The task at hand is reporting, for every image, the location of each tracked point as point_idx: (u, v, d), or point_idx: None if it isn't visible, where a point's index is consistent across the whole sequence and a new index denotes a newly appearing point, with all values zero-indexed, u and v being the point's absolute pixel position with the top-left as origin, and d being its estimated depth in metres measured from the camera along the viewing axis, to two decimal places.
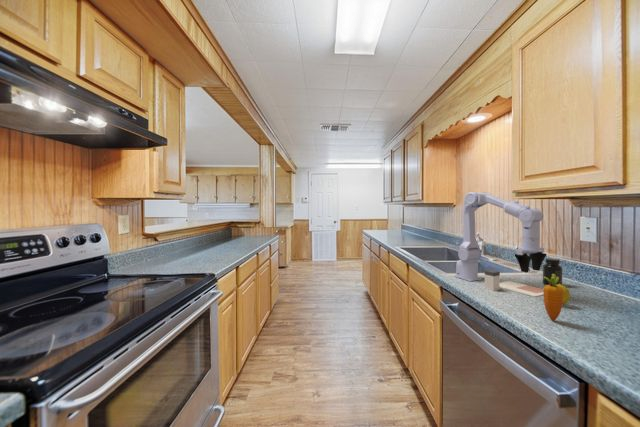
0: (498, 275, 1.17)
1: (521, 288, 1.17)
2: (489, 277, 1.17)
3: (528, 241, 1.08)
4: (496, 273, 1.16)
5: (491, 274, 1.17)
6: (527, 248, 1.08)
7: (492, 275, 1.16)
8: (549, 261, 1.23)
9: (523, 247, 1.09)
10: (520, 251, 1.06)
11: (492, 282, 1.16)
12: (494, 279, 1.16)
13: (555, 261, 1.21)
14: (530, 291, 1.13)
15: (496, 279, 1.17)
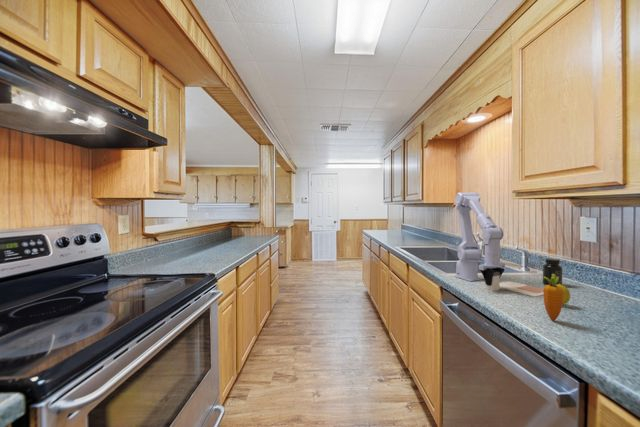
0: (498, 275, 1.17)
1: (521, 288, 1.17)
2: None
3: (489, 257, 1.17)
4: (496, 273, 1.16)
5: None
6: (488, 263, 1.17)
7: None
8: (549, 261, 1.23)
9: (485, 262, 1.18)
10: (481, 266, 1.15)
11: (492, 282, 1.16)
12: (494, 279, 1.16)
13: (555, 261, 1.21)
14: (530, 291, 1.13)
15: (496, 279, 1.17)
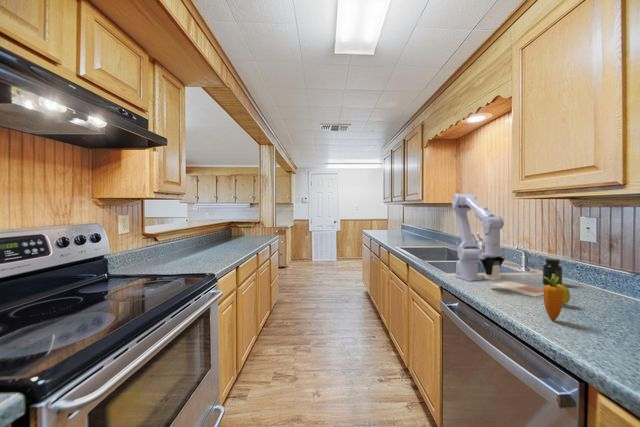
0: (498, 264, 1.17)
1: (521, 288, 1.17)
2: None
3: (489, 246, 1.17)
4: (496, 262, 1.16)
5: None
6: (488, 253, 1.17)
7: None
8: (549, 261, 1.23)
9: (485, 252, 1.18)
10: (481, 256, 1.15)
11: (492, 271, 1.16)
12: (494, 268, 1.16)
13: (555, 261, 1.21)
14: (530, 291, 1.13)
15: (496, 268, 1.16)
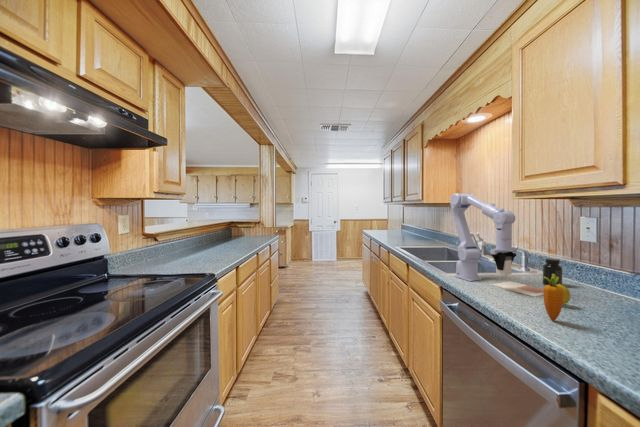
0: (510, 259, 1.16)
1: (521, 288, 1.17)
2: None
3: (501, 241, 1.16)
4: (508, 257, 1.16)
5: None
6: (500, 248, 1.16)
7: None
8: (549, 261, 1.23)
9: (497, 247, 1.18)
10: (493, 251, 1.14)
11: (504, 266, 1.15)
12: (506, 263, 1.15)
13: (555, 261, 1.21)
14: (530, 291, 1.13)
15: (508, 264, 1.16)
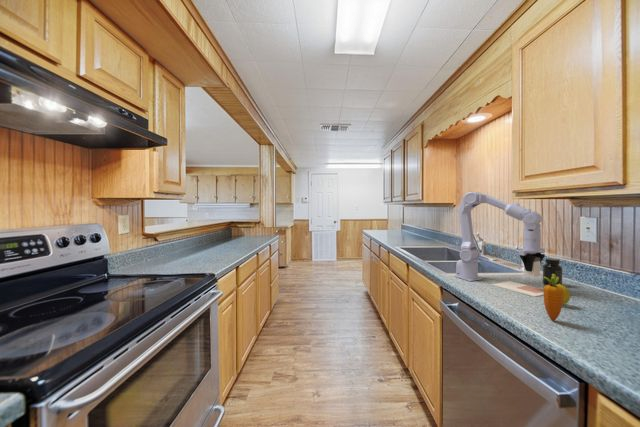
0: (539, 261, 1.15)
1: (521, 288, 1.17)
2: None
3: (529, 242, 1.14)
4: (537, 258, 1.14)
5: None
6: (529, 249, 1.14)
7: None
8: (549, 261, 1.23)
9: (525, 248, 1.16)
10: (522, 252, 1.13)
11: (533, 268, 1.14)
12: (535, 264, 1.14)
13: (555, 261, 1.21)
14: (530, 291, 1.13)
15: (537, 265, 1.14)
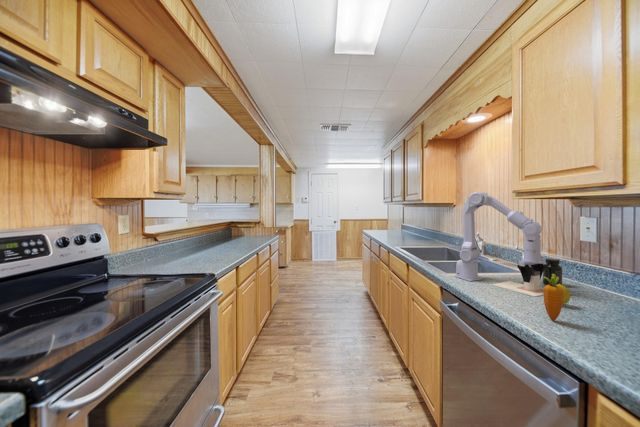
0: (538, 275, 1.15)
1: (521, 288, 1.17)
2: None
3: (529, 253, 1.14)
4: (537, 273, 1.14)
5: (531, 273, 1.14)
6: (529, 260, 1.15)
7: (533, 275, 1.14)
8: (549, 261, 1.23)
9: (525, 258, 1.16)
10: (522, 263, 1.13)
11: (533, 282, 1.14)
12: (534, 279, 1.14)
13: (555, 261, 1.21)
14: (530, 291, 1.13)
15: (536, 279, 1.14)
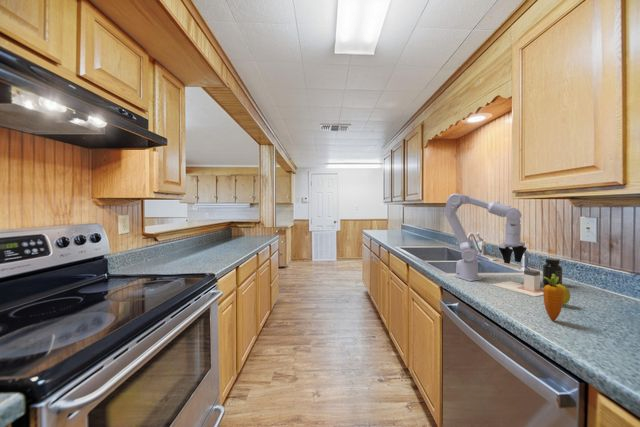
0: (538, 275, 1.15)
1: (521, 288, 1.17)
2: (529, 277, 1.15)
3: (510, 236, 1.24)
4: (537, 273, 1.14)
5: (531, 273, 1.14)
6: (509, 242, 1.24)
7: (533, 275, 1.14)
8: (549, 261, 1.23)
9: (506, 241, 1.25)
10: (503, 245, 1.22)
11: (533, 282, 1.14)
12: (534, 279, 1.14)
13: (555, 261, 1.21)
14: (530, 291, 1.13)
15: (536, 279, 1.14)
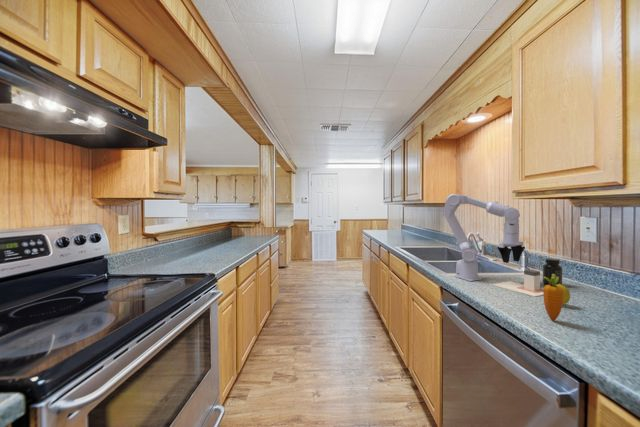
0: (538, 275, 1.15)
1: (521, 288, 1.17)
2: (529, 277, 1.15)
3: (508, 235, 1.24)
4: (537, 273, 1.14)
5: (531, 273, 1.14)
6: (508, 242, 1.24)
7: (533, 275, 1.14)
8: (549, 261, 1.23)
9: (505, 241, 1.26)
10: (502, 244, 1.23)
11: (533, 282, 1.14)
12: (534, 279, 1.14)
13: (555, 261, 1.21)
14: (530, 291, 1.13)
15: (536, 279, 1.14)
